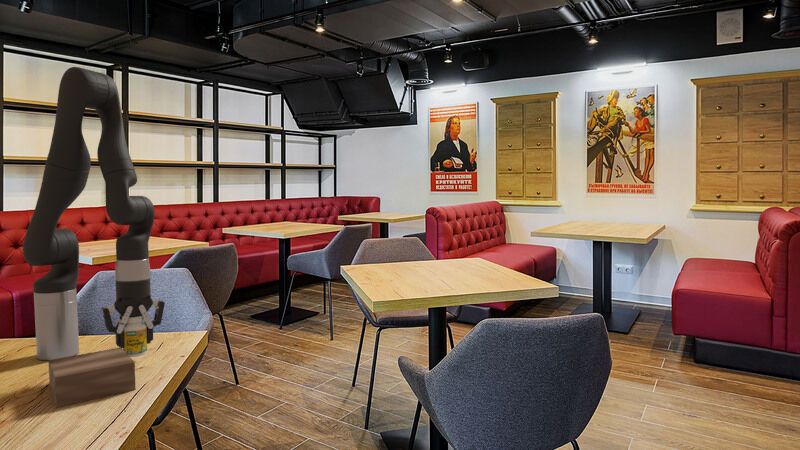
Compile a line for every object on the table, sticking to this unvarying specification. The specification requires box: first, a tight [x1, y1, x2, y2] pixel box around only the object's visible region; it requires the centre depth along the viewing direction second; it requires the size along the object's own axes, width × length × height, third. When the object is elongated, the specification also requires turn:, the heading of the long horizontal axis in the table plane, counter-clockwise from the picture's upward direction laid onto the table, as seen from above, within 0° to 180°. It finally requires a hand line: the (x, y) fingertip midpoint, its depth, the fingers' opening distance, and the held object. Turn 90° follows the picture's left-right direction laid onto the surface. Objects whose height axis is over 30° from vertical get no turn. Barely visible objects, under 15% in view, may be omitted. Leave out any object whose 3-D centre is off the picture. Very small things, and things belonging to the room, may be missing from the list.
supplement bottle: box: [122, 316, 148, 358], centre depth 123 cm, size 5×5×10 cm
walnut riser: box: [47, 347, 137, 408], centre depth 108 cm, size 14×14×6 cm
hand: (134, 344), depth 124 cm, fingers closed on supplement bottle, 5 cm apart
